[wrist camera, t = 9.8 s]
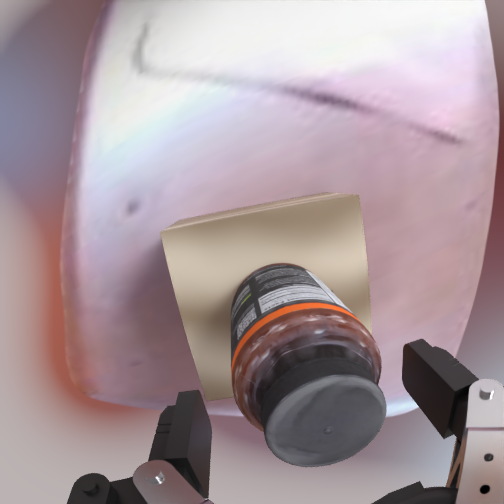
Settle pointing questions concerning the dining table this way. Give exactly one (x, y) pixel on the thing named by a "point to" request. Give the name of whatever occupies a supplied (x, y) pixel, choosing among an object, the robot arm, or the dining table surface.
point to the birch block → (254, 257)
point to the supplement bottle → (304, 367)
